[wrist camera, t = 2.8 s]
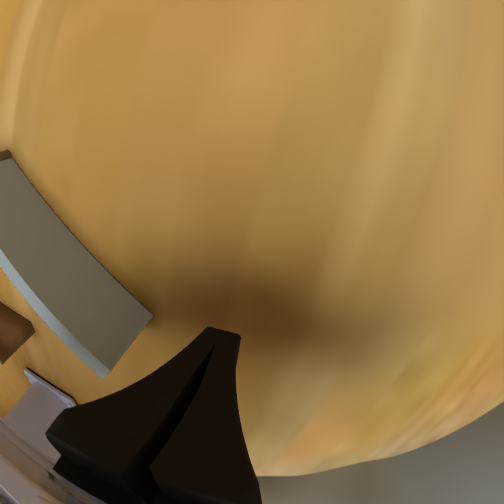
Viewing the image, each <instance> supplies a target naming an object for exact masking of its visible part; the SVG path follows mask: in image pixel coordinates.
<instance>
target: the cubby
mask: <svg viewBox="0 0 504 504" xmlns="http://www.w3.org/2000/svg"><path fill="white" fill-rule="evenodd" d="M34 333H35V332H34V330H33V327H32V324H31V322H30V321H28V320H27V319H25V318H23V317H22V316H20V315H19V314H17V313H16V312H14V311H13V310H11V309H9V308H8V307H7V306H5V305H4V304H2V303H1V302H0V363H1V364H2V365H3V364H4V362H5V361H6V360H7V359H8V358H9V357H10V356H11V355H12V354H13V353H14V352H15V351H16V350H17V349H18V348H19V347H20V346H21V345H23V344H24V343H25V342H26V341H27V340H28V339H29V338H30V337H31V336H32V335H33V334H34Z"/></svg>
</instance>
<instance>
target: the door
mask: <svg viewBox="0 0 504 504" xmlns="http://www.w3.org/2000/svg"><path fill="white" fill-rule="evenodd" d="M0 267H1V268H2V270H3V271H4V273H5V274H6V275H7V277H8V278H9V279H10V281H11V282H12V283H13V285H14V286H15V287H16V288H17V290H18V291H19V292H20V294H21V295H22V296H23V297H24V299H25V300H26V301H27V302H28V303H29V305H30V306H31V307H32V308H33V309H34V311H35V312H36V313H37V314H38V315H39V316H40V317H41V319H42V320H43V321H44V322H45V323H46V324H47V325H48V326H49V327H50V328H51V330H52V331H53V332H54V333H55V334H56V335H57V336H58V337H59V338H60V339H61V340H62V341H63V342H64V343H65V344H66V345H67V346H68V347H69V348H70V349H71V350H72V351H73V352H74V353H75V354H76V355H77V356H78V357H79V358H80V359H81V360H82V361H83V362H85V363H86V364H87V365H88V366H89V367H90V368H91V369H92V370H93V371H94V372H96V373H97V374H98V375H99V376H100V377H101V378H102V379H103V378H104V377H105V376H106V375H107V374H108V373H109V372H110V371H111V370H112V369H113V367H114V366H115V365H116V363H117V362H118V361H119V359H120V358H121V357H122V355H123V354H124V353H125V351H126V350H127V349H128V348H129V346H130V345H131V344H132V342H133V341H134V340H135V338H136V337H137V336H138V335H139V333H140V332H141V331H142V329H143V328H144V327H145V326H146V324H147V323H148V322H149V320H150V319H151V318H152V317H153V315H152V314H151V313H150V312H149V311H148V310H147V309H146V308H145V307H143V306H142V305H141V304H140V303H139V302H138V301H137V300H136V299H135V298H134V297H133V296H132V295H131V294H130V293H129V292H128V291H127V290H126V289H124V288H123V287H122V286H121V285H120V284H119V283H118V282H117V281H116V280H115V279H114V278H113V277H112V276H111V275H110V274H109V273H108V272H107V271H106V270H105V269H104V267H103V266H102V265H101V264H100V263H99V262H98V261H97V260H96V259H95V258H94V257H93V256H92V255H91V254H90V253H89V252H88V251H87V250H86V248H85V247H84V246H83V245H82V244H81V243H80V242H79V241H78V240H77V239H76V237H75V236H74V235H73V234H72V233H71V232H70V231H69V229H68V228H67V227H66V226H65V225H64V224H63V223H62V221H61V220H60V219H59V218H58V217H57V215H56V214H55V213H54V212H53V211H52V209H51V208H50V207H49V206H48V205H47V203H46V202H45V201H44V200H43V198H42V197H41V196H40V194H39V193H38V192H37V191H36V189H35V188H34V187H33V185H32V184H31V183H30V181H29V180H28V179H27V177H26V176H25V175H24V173H23V172H22V171H21V169H20V168H19V167H18V165H17V164H16V162H15V161H14V159H13V158H12V157H11V154H10V152H9V151H8V150H5V151H1V152H0Z"/></svg>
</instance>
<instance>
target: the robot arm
mask: <svg viewBox="0 0 504 504" xmlns="http://www.w3.org/2000/svg"><path fill="white" fill-rule="evenodd" d="M240 340H241V337H240V335H239V334H236V333H232V332H228V331H224V330H220V329H216V328H213V327H207V328H205V329H204V331H203V332H202V333H201V334H200V335H199V336H197V337H196V338H195V339H194V340H193V341H192V342H191V343H190V344H189V345H188V346H187V347H185V348H184V349H183V350H182V351H181V352H179V353H178V354H177V355H176V356H175V357H173V358H172V359H171V360H169V361H168V362H167V363H165V364H164V365H163V366H161V367H160V368H158V369H157V370H156V371H154V372H153V373H151V374H149V375H148V376H146V377H145V378H143V379H141V380H139V381H138V382H136V383H134V384H132V385H130V386H128V387H126V388H124V389H122V390H120V391H118V392H116V393H113V394H111V395H108V396H106V397H103V398H100V399H98V400H95V401H92V402H89V403H85V404H81V405H78V406H76V404H75V402H74V400H73V399H72V398H71V397H69V396H67V395H66V394H64V393H63V392H61V391H59V390H58V389H56V388H55V387H53V386H52V385H50V384H48V383H47V382H45V381H44V380H42V379H41V378H40V377H38V376H37V375H35V374H34V373H32V372H31V371H30V370H28V369H27V368H25V369H24V373H25V374H26V376H27V378H28V380H29V382H30V383H31V387H30V388H29V389H28V390H27V391H26V392H25V394H24V395H23V396H22V397H21V398H20V399H19V401H18V402H17V403H16V404H15V405H14V407H13V408H12V409H11V410H10V412H9V413H8V414H7V415H6V416H5V418H4V419H3V418H2V417H1V416H0V497H2V498H3V499H4V500H5V501H7V502H8V503H9V504H85V503H83V502H82V501H80V500H79V499H77V498H76V497H75V496H73V495H72V494H71V493H70V492H68V491H67V490H65V489H64V488H62V487H61V486H59V485H58V484H57V483H55V478H56V479H58V480H59V481H61V482H62V483H64V484H65V485H67V486H68V487H70V488H71V489H73V490H74V491H76V492H78V493H79V494H81V495H82V496H84V497H86V498H88V499H89V500H91V501H93V502H95V503H96V504H262V500H261V494H260V489H259V482H258V480H257V477H256V475H255V472H254V469H253V467H252V464H251V461H250V458H249V454H248V451H247V448H246V444H245V440H244V436H243V432H242V427H241V422H240V417H239V410H238V403H237V393H236V365H237V359H238V352H239V346H240ZM54 477H55V478H54ZM0 504H5V503H4V502H2V501H1V500H0Z"/></svg>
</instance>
